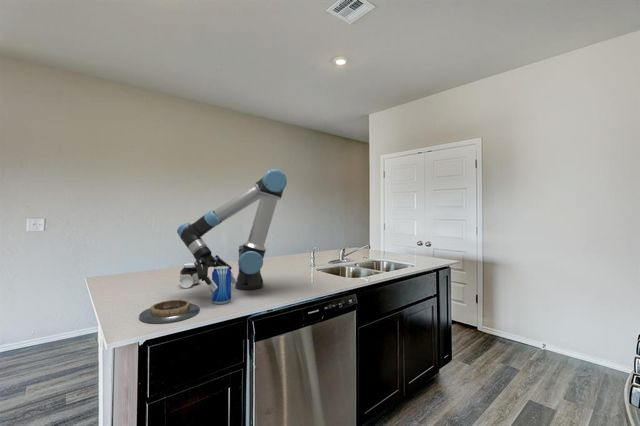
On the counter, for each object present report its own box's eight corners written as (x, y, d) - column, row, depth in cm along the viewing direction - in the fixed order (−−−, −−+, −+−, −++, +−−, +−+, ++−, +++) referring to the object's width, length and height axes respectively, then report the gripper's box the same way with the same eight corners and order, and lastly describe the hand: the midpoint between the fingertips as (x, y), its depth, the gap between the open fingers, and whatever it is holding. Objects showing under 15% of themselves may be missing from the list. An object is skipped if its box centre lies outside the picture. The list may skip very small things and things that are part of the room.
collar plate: (191, 301, 138) (191, 294, 138) (206, 315, 121) (206, 307, 121) (135, 311, 125) (135, 303, 125) (143, 328, 108) (143, 318, 108)
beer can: (211, 300, 141) (211, 266, 141) (229, 298, 144) (230, 265, 144) (212, 305, 133) (212, 269, 133) (232, 303, 137) (232, 268, 136)
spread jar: (196, 282, 175) (196, 262, 175) (204, 285, 167) (204, 265, 167) (174, 285, 167) (174, 264, 167) (181, 289, 159) (181, 267, 159)
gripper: (214, 252, 156) (238, 284, 150) (174, 260, 133) (201, 298, 127) (222, 243, 154) (246, 275, 148) (183, 248, 131) (210, 287, 125)
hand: (225, 286), depth 138 cm, fingers open, 13 cm apart
